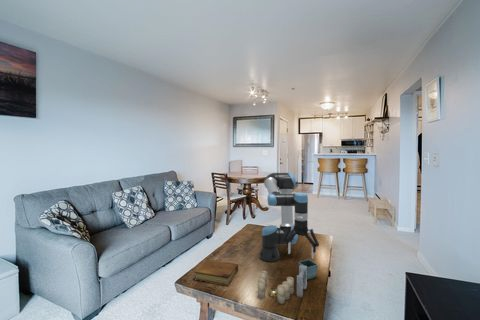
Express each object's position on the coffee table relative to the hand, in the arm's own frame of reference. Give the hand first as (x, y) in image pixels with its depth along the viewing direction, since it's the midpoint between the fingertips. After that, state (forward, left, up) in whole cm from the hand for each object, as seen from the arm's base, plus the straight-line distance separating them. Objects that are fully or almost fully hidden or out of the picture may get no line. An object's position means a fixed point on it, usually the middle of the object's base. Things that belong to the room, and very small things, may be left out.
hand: (300, 255), depth 138 cm
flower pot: (-14, +2, -19) cm, 24 cm away
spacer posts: (+14, -12, -19) cm, 27 cm away
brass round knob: (+14, -12, -19) cm, 27 cm away
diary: (+9, -52, -20) cm, 56 cm away
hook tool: (-1, +1, -19) cm, 19 cm away
